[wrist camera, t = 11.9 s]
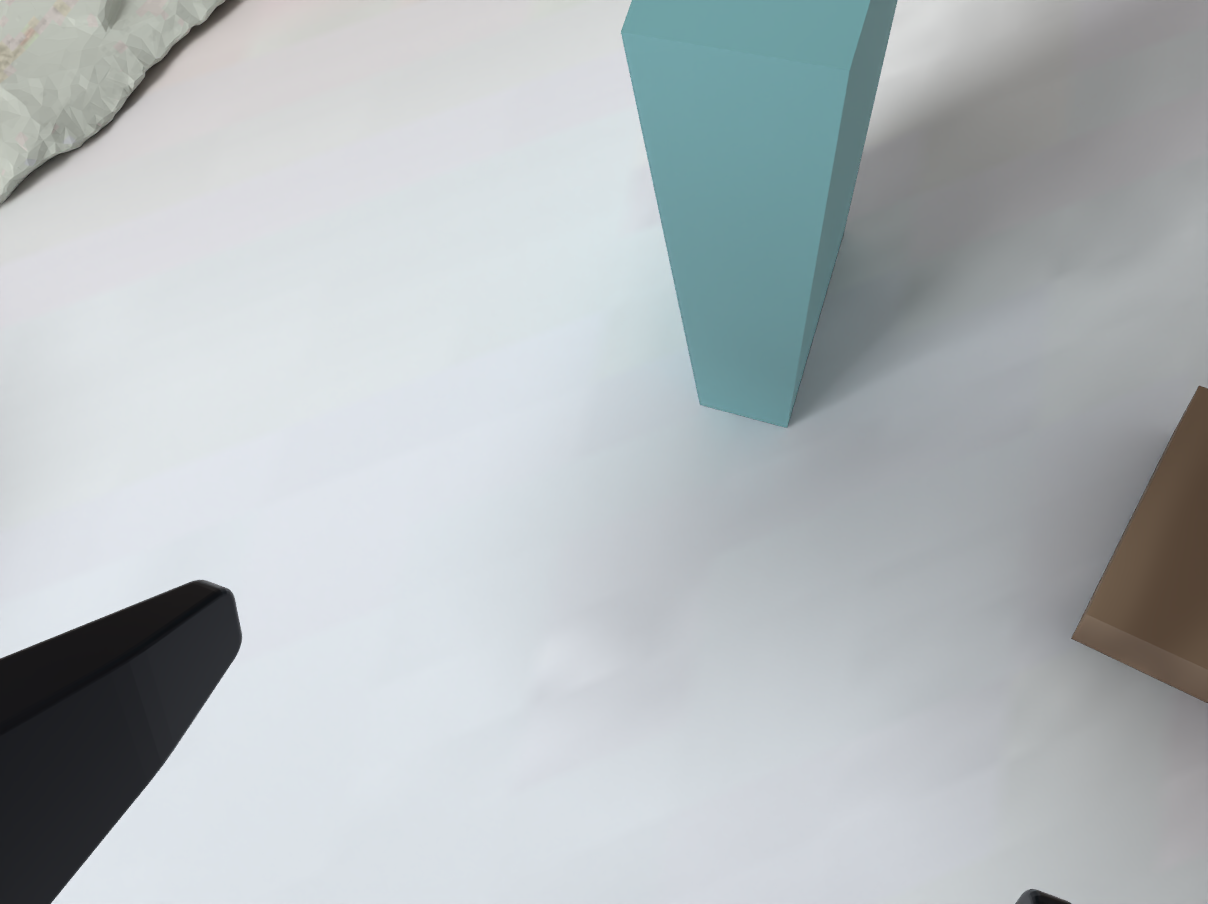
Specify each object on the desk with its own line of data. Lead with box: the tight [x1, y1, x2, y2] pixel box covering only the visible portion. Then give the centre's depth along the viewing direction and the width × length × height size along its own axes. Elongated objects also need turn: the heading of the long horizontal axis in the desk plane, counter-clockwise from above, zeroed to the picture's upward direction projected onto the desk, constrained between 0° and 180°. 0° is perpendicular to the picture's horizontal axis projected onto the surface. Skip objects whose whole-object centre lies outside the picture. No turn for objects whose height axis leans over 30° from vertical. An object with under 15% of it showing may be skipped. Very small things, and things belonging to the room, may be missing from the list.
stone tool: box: [0, 0, 225, 204], centre depth 22 cm, size 6×2×15 cm
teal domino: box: [621, 0, 897, 428], centre depth 12 cm, size 2×4×11 cm, turn 162°
